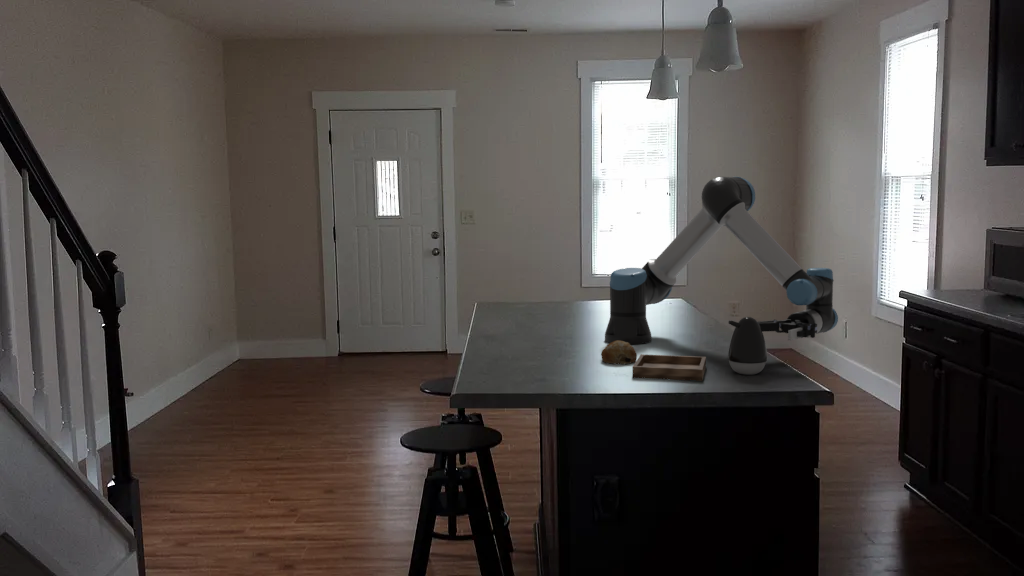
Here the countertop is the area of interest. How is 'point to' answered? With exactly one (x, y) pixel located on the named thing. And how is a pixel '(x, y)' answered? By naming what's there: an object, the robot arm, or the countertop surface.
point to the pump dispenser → (747, 347)
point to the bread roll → (619, 353)
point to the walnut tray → (669, 367)
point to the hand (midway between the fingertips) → (766, 333)
